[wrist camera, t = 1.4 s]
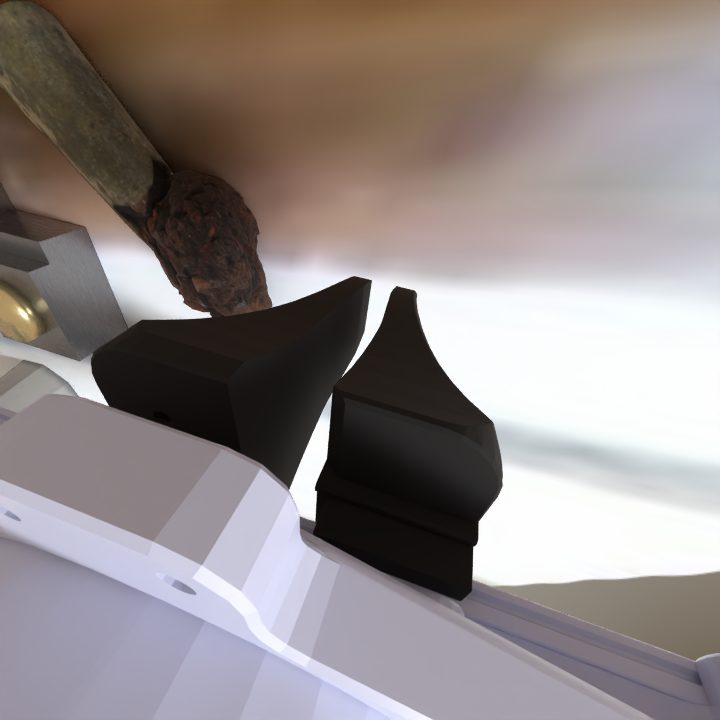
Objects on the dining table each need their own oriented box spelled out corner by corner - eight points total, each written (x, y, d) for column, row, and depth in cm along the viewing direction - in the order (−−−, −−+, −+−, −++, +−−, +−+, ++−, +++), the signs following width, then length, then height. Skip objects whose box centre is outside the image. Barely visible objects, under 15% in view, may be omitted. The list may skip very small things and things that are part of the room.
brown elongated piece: (52, 85, 20) (-68, 78, 15) (89, -24, 16) (-55, -73, 12) (255, 318, 26) (210, 359, 22) (315, 277, 22) (275, 318, 18)
